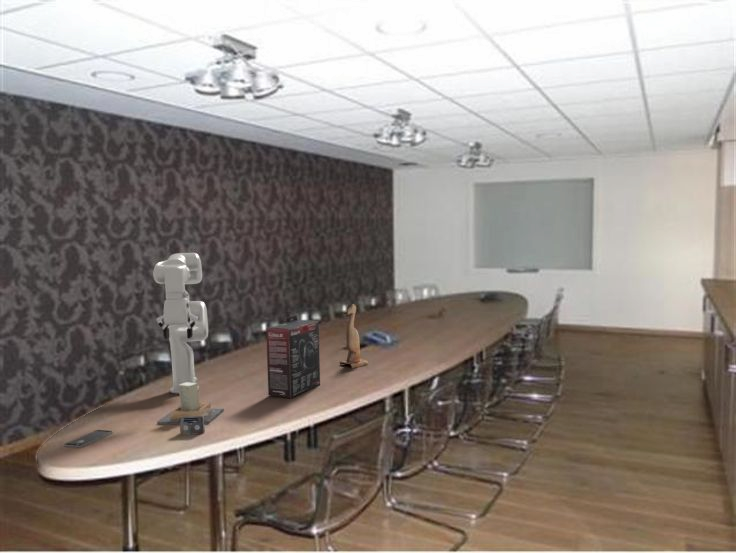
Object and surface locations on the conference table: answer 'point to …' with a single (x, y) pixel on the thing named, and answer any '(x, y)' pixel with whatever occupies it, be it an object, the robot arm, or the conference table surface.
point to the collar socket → (191, 414)
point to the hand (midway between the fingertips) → (178, 338)
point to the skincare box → (189, 396)
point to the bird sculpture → (353, 342)
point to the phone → (88, 438)
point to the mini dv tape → (192, 425)
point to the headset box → (293, 357)
